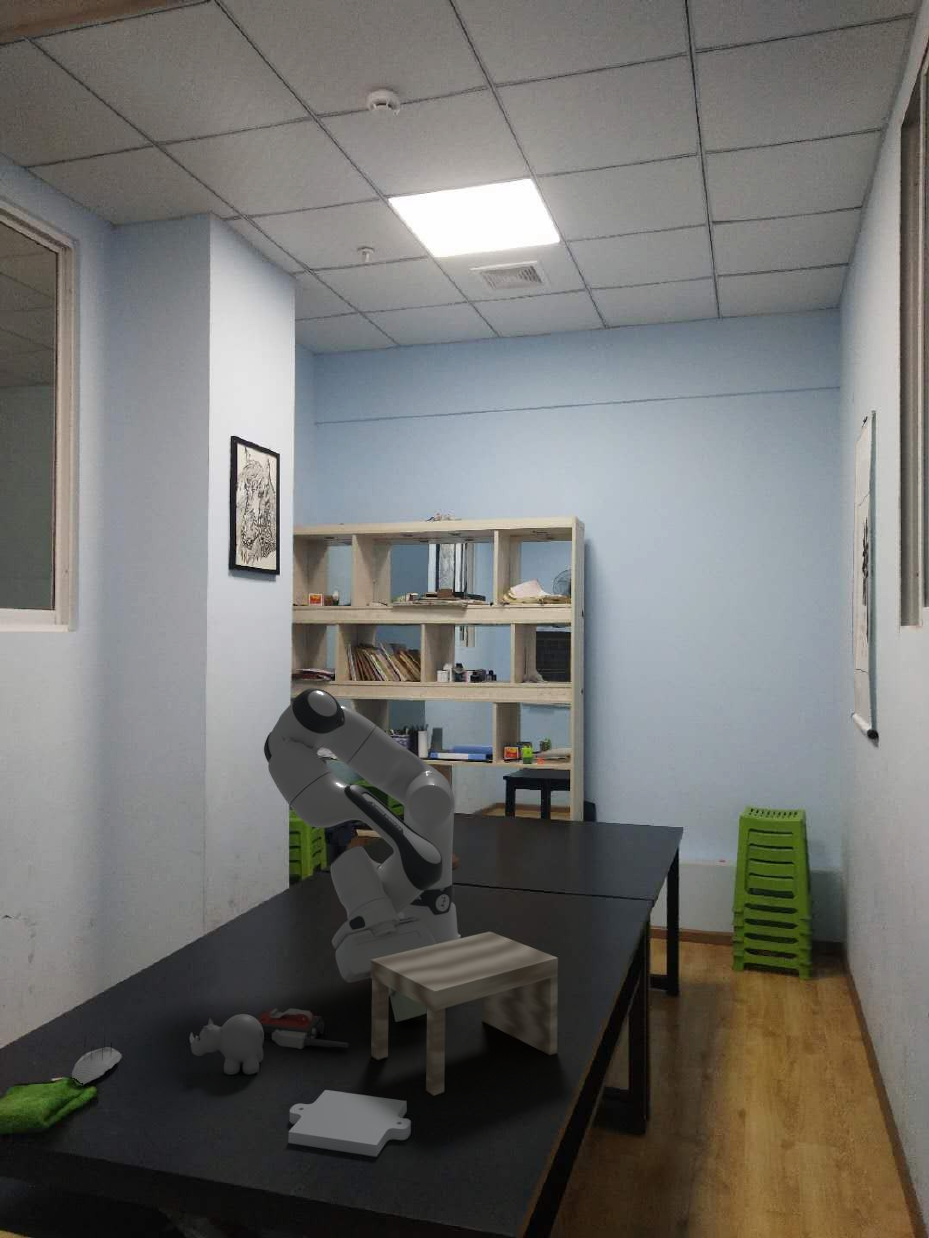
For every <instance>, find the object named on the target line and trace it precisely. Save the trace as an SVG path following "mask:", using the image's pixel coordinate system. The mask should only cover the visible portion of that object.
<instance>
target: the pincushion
mask: <svg viewBox="0 0 929 1238" xmlns="http://www.w3.org/2000/svg"><path fill="white" fill-rule="evenodd" d="M105 1037H106V1036H105V1035H104V1040H103V1041H104V1043H103V1044H102V1046H101V1048H98V1049H95V1046H93V1048H92V1047H91V1048H90V1049H91V1050H90V1051H89V1052H86V1053H84V1054H82V1056H81V1057H80V1058H79V1059H78V1060H77V1062H76V1063H75V1064H74V1066H73V1069H72V1071H71V1078H72V1079H73V1078H75V1079H77V1080H78V1081H79V1082H80V1083H83V1085H85V1084H87V1083H90V1082H91V1081H93V1080H96V1079H98V1078H100V1077H101V1076H103V1075H104V1074H105V1072H106V1071H108V1070H109V1069H110V1070H111V1069H112V1068H113V1066H115V1064H118V1063H119V1062H120V1061H121V1059H122V1058H123V1055H122V1054H121V1053H120V1052H119V1051H118V1050H117V1049H115V1048H113V1043H110V1047H107V1046H106V1044H105V1043H106V1040H105V1039H106V1038H105ZM86 1041H87V1040H86V1035H85V1036H84V1046H87V1045H86ZM103 1045H104V1046H103Z"/></svg>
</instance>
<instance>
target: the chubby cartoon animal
mask: <svg viewBox="0 0 929 1238" xmlns="http://www.w3.org/2000/svg"><path fill="white" fill-rule="evenodd" d="M254 1017H255V1016H252V1015H251V1014H245V1013H241V1014H236V1015H233V1016H231V1017H230V1018H228V1019H227V1020H226V1021H225V1023H223V1025H222V1026H218V1025H217V1024H214V1022H213V1020H212V1018H208V1024H207V1025H204V1026H203V1028H202V1029H201V1031H200V1033H199V1036H198V1035H195V1037H194V1034H193V1032H191V1033H190V1035H189V1043H190V1049H191V1053H192V1054H193V1055H195V1056H196V1057H200V1056H201V1057H202V1056H204V1055H205V1054H206V1053H215V1052H217V1051H219V1052H221V1054H222V1055H223V1056H224V1059H225V1060H224V1064H223V1072H224V1074H226V1075H228V1076H230V1075H231V1076H232V1075H236V1074H238V1073H240V1071H241V1066H242V1072H243V1074H245V1075H253V1074H256V1073H258V1072H259V1070H260V1064H259V1063H261V1062H262V1061H263V1060H264V1049H263V1044H264V1040H265V1039H264V1032H263V1028H262V1026H261V1024H260V1022H259V1021H258V1020H257V1019H256V1018H254Z"/></svg>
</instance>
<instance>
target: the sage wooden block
mask: <svg viewBox="0 0 929 1238" xmlns="http://www.w3.org/2000/svg"><path fill="white" fill-rule="evenodd" d="M389 999H390V1003H391V1007H392V1013H393V1015H394V1016H393V1017H394V1021H395V1023H397V1022H402V1021H405V1020H409V1019H412V1018H417V1017H419V1016H423V1015H425V1014H426V1015H427V1007H426V1006H424V1005H422V1004H420V1003H418V1002H416V1001H414V1000H412V999H411V998H409V997H407V996H405V995H403V994H401V993H399V992H397V991H396V993H395V994H394V995H393V996H390V997H389Z"/></svg>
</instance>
